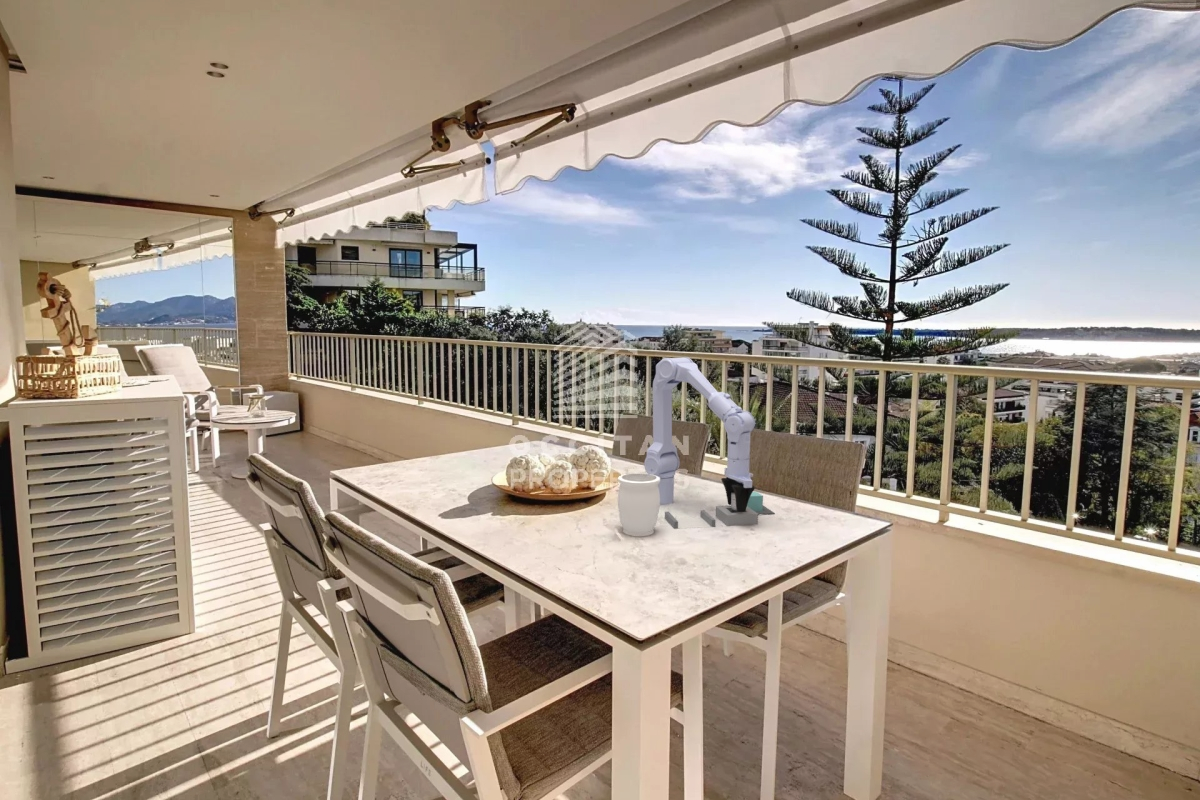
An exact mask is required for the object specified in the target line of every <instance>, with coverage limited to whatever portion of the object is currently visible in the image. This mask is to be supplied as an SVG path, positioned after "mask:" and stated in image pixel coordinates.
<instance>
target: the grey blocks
mask: <svg viewBox="0 0 1200 800" xmlns="http://www.w3.org/2000/svg"><path fill="white" fill-rule="evenodd" d="M699 514H700V515H699V516H683V517H674V516H673V514H672V513H671V512H669V511H664V519H665V520H666V521H667V523H668V524H669V525H670V526H671V527H672V528H673V529H674V530H677V529H681V530H682V529H696V528H697V529H698V528H715V527H716V519H718V521H720V522H722V524H724V525H725V526H726V527H733V526H734V527H738V526H754V525H757V526H758V525H759V515H758V513H756V512H755V511H753V510H752V509H750V508H749V507H748V506H747V508H746V511H743V512H739V513H731V505H716V506H715V517H713V516H711V514H709V513H708V512H707V511H706V510H705V509H700V513H699ZM715 518H716V519H715Z"/></svg>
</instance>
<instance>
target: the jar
mask: <svg viewBox="0 0 1200 800" xmlns="http://www.w3.org/2000/svg"><path fill="white" fill-rule="evenodd" d="M617 477H618V479H617V481H618V483H619V484H620V485H619V487H618V488H619V489H618V493H617V509H618V515H619V522H620V525H621V527H622V528H623V530H622V533H623V534H626V535H628V536H634V537H643V536H644V537H645V536H651V535H653V534H654V533H655V531H654V529H655V527H656V525H657V524H658V523H657V522H658V518H659V511H660V493H659V487H658V484H659V483H660V478H659V477H658V476H655V475H651V474H648V473H643V472H642V473H641V472H640V473H638V472H636V473H624V474H622V475H619V476H617Z"/></svg>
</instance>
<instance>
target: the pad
mask: <svg viewBox="0 0 1200 800" xmlns="http://www.w3.org/2000/svg"><path fill="white" fill-rule="evenodd" d="M756 513H758V516H760V515H759V514H768V515H776V513H775V512H774V511H772V510H771V509H770V508H767V507H766V506H765V505H763V511H756Z"/></svg>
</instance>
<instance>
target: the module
mask: <svg viewBox="0 0 1200 800" xmlns="http://www.w3.org/2000/svg"><path fill="white" fill-rule="evenodd" d="M747 506H748V507H749V508H750V509H752V510H753V511H755V512H756V511H763V506H764V495H762V494H761V493H760V492H758V491H753V492H752V494H751V496H750V498H749V501H748V504H747Z"/></svg>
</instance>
